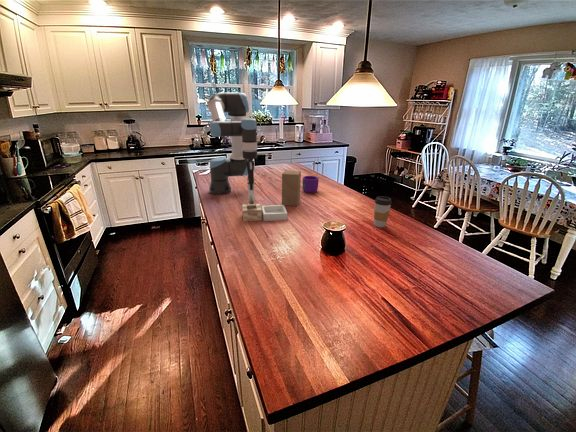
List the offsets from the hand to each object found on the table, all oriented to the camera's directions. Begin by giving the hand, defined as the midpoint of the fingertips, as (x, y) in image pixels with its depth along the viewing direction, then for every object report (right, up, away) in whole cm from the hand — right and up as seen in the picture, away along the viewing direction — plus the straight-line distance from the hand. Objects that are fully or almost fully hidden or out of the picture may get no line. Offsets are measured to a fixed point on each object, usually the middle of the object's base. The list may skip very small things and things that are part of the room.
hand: (251, 194), depth 157 cm
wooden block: (+22, -4, +28) cm, 36 cm away
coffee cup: (+69, -17, -2) cm, 71 cm away
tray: (+12, -12, +7) cm, 18 cm away
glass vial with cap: (0, -5, +2) cm, 5 cm away
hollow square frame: (0, -12, +5) cm, 14 cm away
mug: (+35, +7, +55) cm, 65 cm away
